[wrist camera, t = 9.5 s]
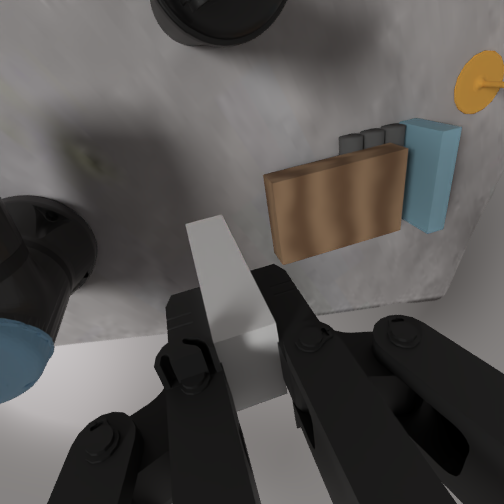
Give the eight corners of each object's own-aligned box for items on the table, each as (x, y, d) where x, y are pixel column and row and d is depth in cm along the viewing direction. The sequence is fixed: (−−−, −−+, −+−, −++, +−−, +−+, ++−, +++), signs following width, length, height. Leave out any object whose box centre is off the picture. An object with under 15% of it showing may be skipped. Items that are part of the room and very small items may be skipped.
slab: (274, 252, 52) (283, 265, 49) (263, 174, 45) (272, 183, 42) (384, 219, 55) (400, 229, 52) (390, 142, 48) (408, 148, 45)
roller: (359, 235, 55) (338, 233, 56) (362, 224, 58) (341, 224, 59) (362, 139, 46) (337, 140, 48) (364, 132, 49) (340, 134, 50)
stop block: (392, 212, 60) (427, 233, 52) (399, 122, 51) (442, 131, 44) (406, 208, 60) (443, 228, 52) (416, 117, 51) (461, 126, 44)
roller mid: (354, 224, 58) (367, 217, 59) (370, 231, 55) (383, 223, 57) (355, 133, 50) (370, 127, 51) (374, 135, 47) (389, 129, 48)
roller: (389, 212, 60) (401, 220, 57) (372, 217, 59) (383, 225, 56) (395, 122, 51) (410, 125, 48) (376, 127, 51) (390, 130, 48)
